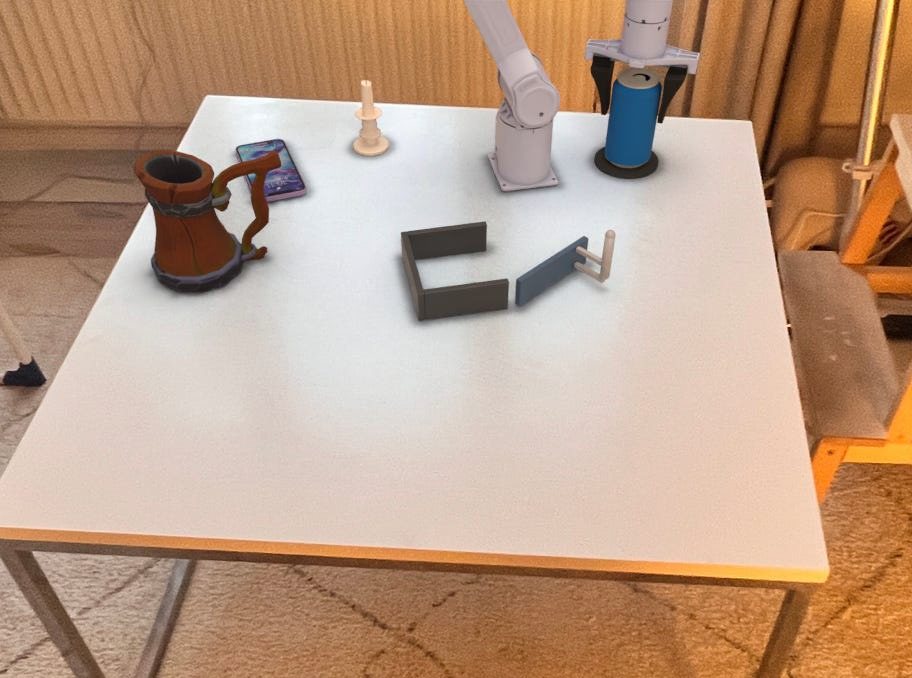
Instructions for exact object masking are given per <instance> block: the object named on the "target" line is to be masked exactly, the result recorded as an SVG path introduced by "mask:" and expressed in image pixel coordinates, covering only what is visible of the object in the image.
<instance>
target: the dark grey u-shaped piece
mask: <svg viewBox="0 0 912 678" xmlns="http://www.w3.org/2000/svg"><path fill="white" fill-rule="evenodd" d="M487 236H488V224H487V222H486V221H478V222H470V223H469V222H468V223H460V224H452V225H444V226H438V227H430V228H429V227H428V228H420V229H412V230H406V231H401V232H400V245H401V259H402V263H403V267H404V270H405V274H406V277H407V282H408V285H409V289H410V292H411V297H412V300H413V304H414V307H415V311H416V315H417V319H418V321H419V322H421V321H422V322H423V321H429V320H437V319H443V318H452V317H457V316H459V317H460V316H466V315H473V314H480V313H487V312H495V311H502V310H508V308H509V294H510V293H509V289H510V282H509V279H508V278H499V279H492V280H485V281H477V282H470V283H463V284H456V285H455V284H453V285H447V286H439V287H432V288H424V287H423V284H422V280H421V276H420V273H419V270H418V265H417V262H416V261H419V260H428V259H436V258H442V257H451V256H457V255H459V256H460V255H465V254H474V253H480V252H482V253H483V252H487V242H488V241H487V238H488V237H487Z"/></svg>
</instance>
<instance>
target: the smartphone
mask: <svg viewBox="0 0 912 678" xmlns="http://www.w3.org/2000/svg"><path fill="white" fill-rule="evenodd" d="M271 151H277V153H278V155H279V157H280V160H281V167H280V168H278V169H274V170H271V171H269V172H268V173H267V175H266V179H265V183H264V194H265V198H266V201H267V203H268V202H273V201H279V200H284V199H289V198H294V197H295V198H296V197H301V196H303V195H305V194H306V193H307V185H306V183H305V181H304V179H303V177H302V174H301V172H300V171H299V168H298V166H297V165H296V163H295V160H294V158H293V155H292V154H291V152H290V150H289V148H288V145H287V143H286V141H285V140H284V139H281V138H274V139H268V140H262V141H255V142H249V143H243V144H239V145H237V146H236V147H235V154H236V157H237V160H238V163H241V162H245V161H250V160H254V159H257V158H260V157H263V156H265V155H267V154H268V153H270V152H271ZM244 177H245V180H246V183H247V185H248V187H249V189H250V191H251V188H252V184H253V181H254V178H255V174H253V173H252V174H249V175H245V176H244Z"/></svg>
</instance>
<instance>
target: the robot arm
mask: <svg viewBox="0 0 912 678" xmlns="http://www.w3.org/2000/svg"><path fill="white" fill-rule="evenodd" d="M462 2H463V3H464V4H465V7H466V9H467V11H468V12H469V14H470V17H471V19H472V20H473V22H474V24H475V26H476V28H477V30H478V32H479V34H480V36H481V38H482V40H483V42H484V43H485V46H486V47H487V49H488V51H489V53H490V55H491V57H492V59H493V61H494V63H495V65H496V68H497V74H496V75H497V77H496V78H497V84H498V86H499V87H498V88H500V91H502V92H503V96H504V98H503V100H502V103H501V105H500V106H499V108H498V109H497V111H496V114H495V124H494V125H495V126H494V152H491V153H488V154H487V159H488V161H489V164H490V167H491V169H492V171H493V174H494V175H495V178H496V180H497V183H498V185H499V187H500V190H501V191H502V192H512V191H519V190H527V189H528V190H529V189H536V188H543V187H553V186H557V185H558V184H559V180H558V178H557V176H556V174H555V172H554V170H553V168H552V166H551V158H552V157H551V156H552V155H551V154H552V143H553V132H554V118H555V117H556V116H557V114H558V112H559V110H560V107H561V95H560V92H559V90H558V88H557V86H556V85H555V84H554V83H553V82H552V80H551V78H550V76H549V75H548V72H547V71H546V70H545V68H544V64H543V62H542V60H541V58H540V57H539V56H538V55H537V54H536V53H534V52H532V51H531V50H530V48H529V46H528V44H527V42H526V40H525V38H524V36H523V34H522V32H521V29H520V27H519V25H518V23H517V22H516V19H515V17H514V15H513V13H512V10H511V8H510V6H509V5H508V2H507V0H463V1H462ZM673 4H674V0H625V9H624V14H623V23H622V31H621V38H619V39H618V38H617V39H616V38H615V39H614V38H613V39H596V38H595V39H593V38H589V39H588V41H586V44H585V50H584V51H585V52H584V60H585V61H586V60H587V61H592V62H591V65H590V68H589V69H590V70H589V71H590V75H591V77H592V79H593V82H594V83H595V86H596V90H597V93H598V98H599V103H600V115H601V116H607V114H608V112H609V111H610V104H611V96H612V83H613V76H614V69H615V64H616V62H619V63H624V64H625V63H627V65H628V67H629V68H634V67H635V68H646V67H647V66H648V67H657V68H662V69H663V68H664V69H667V72H666V73H665V77H664V80H663V87H662V95H661V101H660V106H659V109H658V115H657V121H656V124H663V123H664V121H665V117H666V113H667V110H668V108H669V106H670V104H671V103H672V100H673V99H674V98H675V96H676V94H677V93H678V91H679V90H680V88H681V87H682V86H683V84H684V83H685V81H686V78H687V75H689V74H690V75H696V73H697V70H698V67H699V63H700V57H701V53H700V52H695V51H691V50H690V51H689V50H686V49H684V48H679V47H676V46H673V45H669V44H667V41H668V34H669V29H670V28H669V27H670V21H671V16H672V10H673Z"/></svg>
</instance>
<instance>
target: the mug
mask: <svg viewBox="0 0 912 678" xmlns="http://www.w3.org/2000/svg"><path fill="white" fill-rule="evenodd" d="M280 167H281V160H280V157H279V155H278V153H277V151H271V152H270V153H268V154H267V155H265V156H263V157H260V158H257V159H254V160H250V161H245V162H241V163H240V162H237V163H235V164H232V165H230V166H228V167H226V168H225V169H224V170H223V169H222V171H221V172H219V173H218V174H217V175H216V176H215V171H214V169H213V167H212V165H211V164H209V163H208V162H207V161H204V160H203V159H201V158H199V157H197V156H195V155H194V154H189V153H186V152H182V151H178V150H174V151H173V150H157V151H154V152H150V153H148V154H145V155H143V156H141V157H140V158H139V159H137V160H136V162H135V164H134V165H133V166H132V169H133V172H134V174H135V176H136V178H137V179H138V180H139V182H140V183H141V185H142V186H143V188H144V196H145V198H146V200H147V202H148V203H149V206H151V207H152V212H153V217H154V223H155V242H154V251H153V252H154V253H153V254H152V257H151V258H150V264H151V268H152V270H153V272H154V274H155V276H156V278H157V279H158V281H159V282H160V284H161V285H164V286H165V287H167V288H169V289H171V290H173V291H175V292H177V293H203V292H207V291H210V290H214V289H218V288H221V287H224V286H226V285H227V284H228V283H229V282H230V281H231V280H233V279H234V278H235V277H237V276H238V275H239V274H240V273H241V272H242V269H243V265H244V262H245V261H255V260H259V259H260V260H261V259H264V258H265V256H266V254H267V253H268V247H267V246H265V245H264V246H263V245H262V246H261V247H259V248H257V246H256V244H254V243H253V238H254V237H255V236H256V235H258V233H260V232H261V231H262V230H263V229H264V228H265V227H266V226H267V225H268V224H269V223H270V207H269V204H268V202H267V201H266V198H265V194H264V183H265V179H266V175H267V173H268V172H269V171H271V170H274V169H278V168H280ZM252 173H253V174H255V178H254V181H253V184H252V188H251V190H250V202H251V207H252V210H253V213H254V217H255V218H254V219H253V220H252V221H251V223H249V224H248V226H247V227H246V229H244V232H243V235H242V238H241V243H240V242H239V240H238V238H237V237H236V235H235V234H234V233H231V232H229V231H228V230H227V228H226V227H225V226H224V224H223V223H222V222H221V220H220V219H219V216H218V214H217V212H216V210H217V211H219V212H222V213H223V212H226V211H227V210H228V208H229V205H230V199H231V197H232V196H233V194H232V191H231V190H230V188H229V187H228V184H229V182H231V181H234V180H235V179H238V178H241V177H245V175H249V174H252Z"/></svg>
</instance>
